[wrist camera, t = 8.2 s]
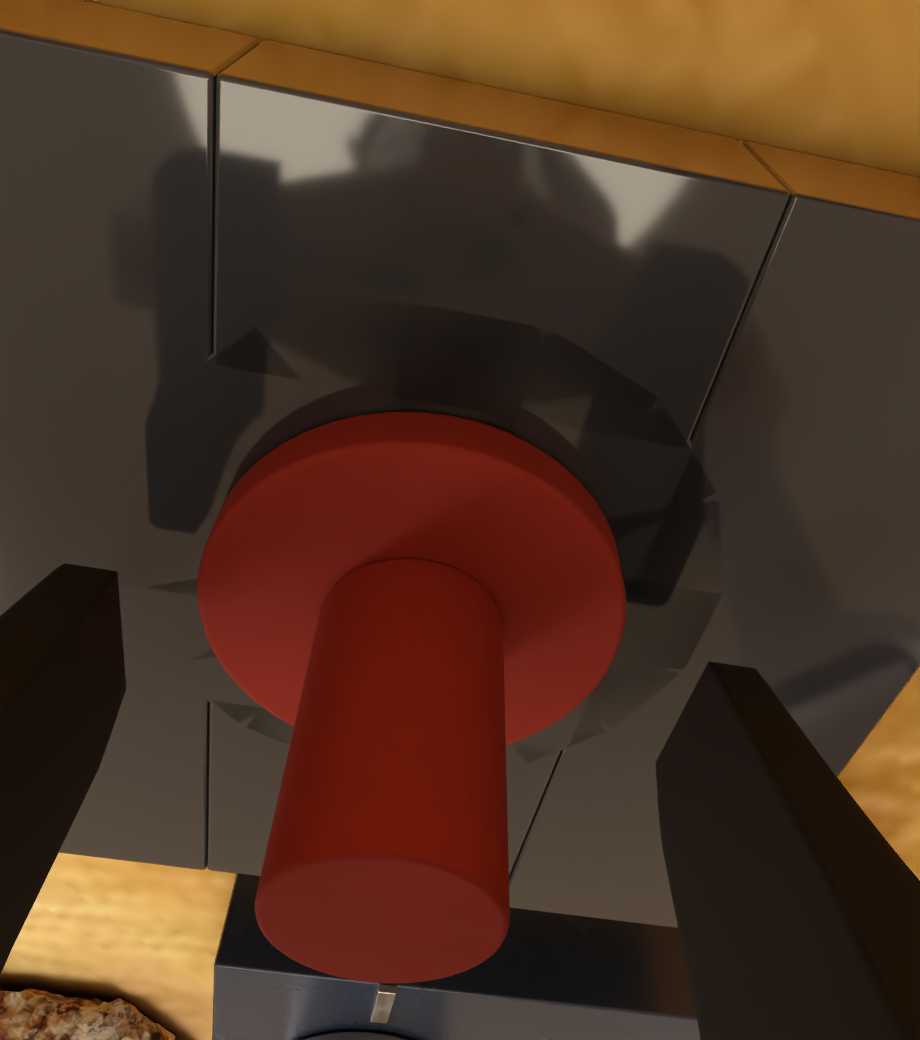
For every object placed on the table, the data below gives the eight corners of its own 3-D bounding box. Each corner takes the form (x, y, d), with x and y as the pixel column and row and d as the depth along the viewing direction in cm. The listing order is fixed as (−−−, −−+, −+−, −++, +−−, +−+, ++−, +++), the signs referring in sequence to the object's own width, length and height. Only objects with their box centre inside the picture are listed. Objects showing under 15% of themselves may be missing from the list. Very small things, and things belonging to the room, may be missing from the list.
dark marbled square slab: (1092, 214, 11) (1210, 280, 9) (700, 836, 19) (721, 934, 17) (-163, -53, 9) (-314, -36, 8) (8, 745, 18) (-45, 841, 16)
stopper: (654, 381, 12) (789, 788, 7) (553, 658, 15) (589, 1074, 10) (248, 307, 11) (40, 685, 6) (236, 610, 15) (96, 1023, 9)
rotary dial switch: (710, 889, 20) (742, 1032, 18) (613, 1030, 25) (627, 1159, 23) (224, 828, 19) (185, 970, 17) (219, 988, 24) (188, 1118, 22)
